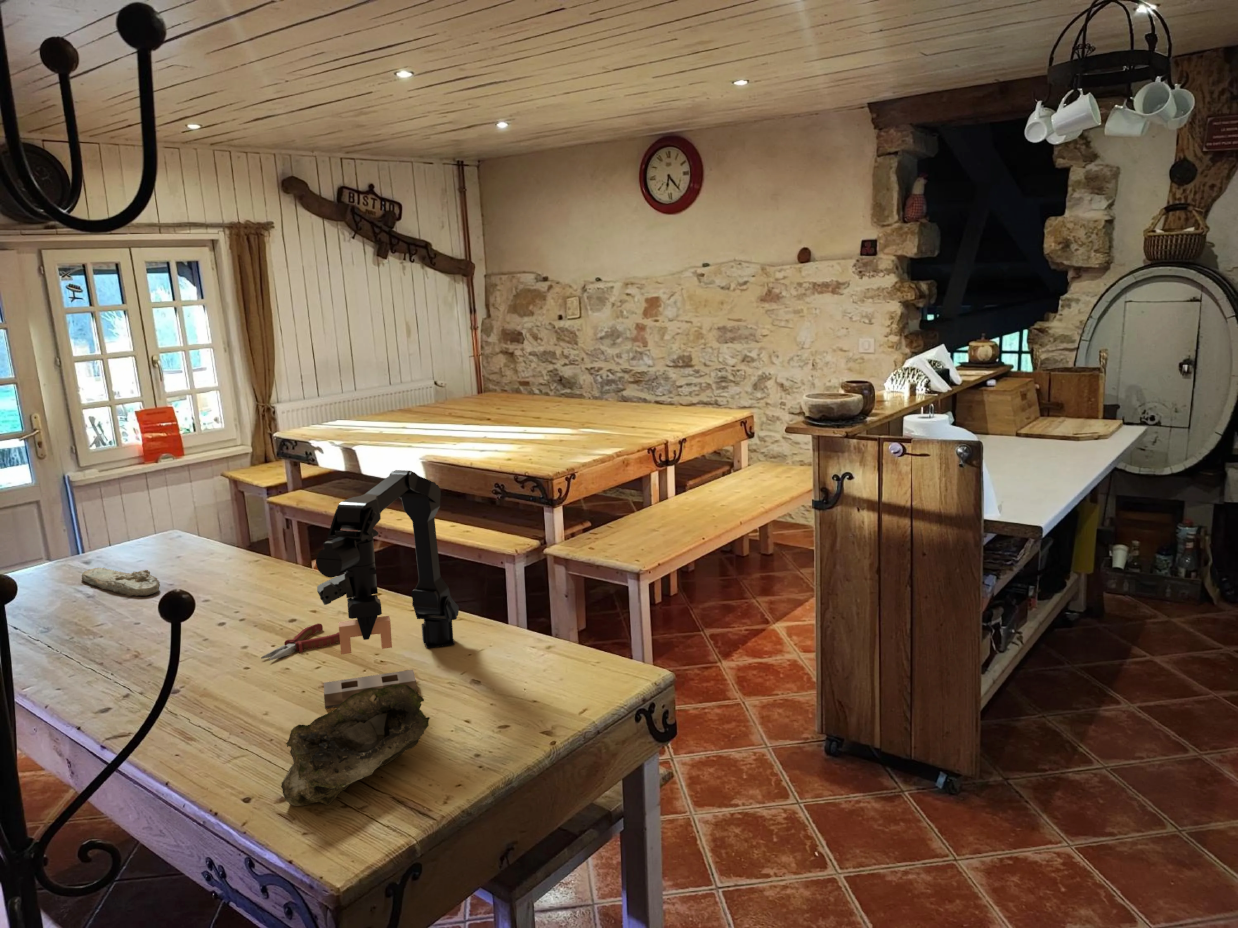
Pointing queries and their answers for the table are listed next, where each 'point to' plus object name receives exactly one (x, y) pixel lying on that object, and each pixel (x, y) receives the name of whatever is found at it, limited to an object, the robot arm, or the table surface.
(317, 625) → the pliers
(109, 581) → the elongated rock
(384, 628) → the clip
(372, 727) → the hollow geode rock
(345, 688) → the rail
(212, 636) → the table surface
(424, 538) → the robot arm
